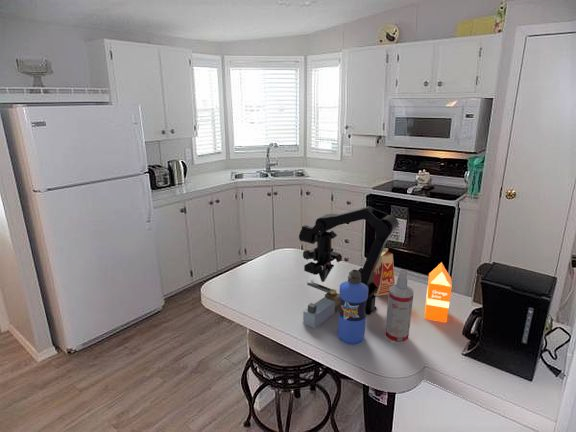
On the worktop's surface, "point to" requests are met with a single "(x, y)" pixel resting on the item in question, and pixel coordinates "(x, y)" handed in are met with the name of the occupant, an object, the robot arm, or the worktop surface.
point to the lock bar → (322, 288)
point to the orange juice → (438, 294)
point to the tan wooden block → (334, 298)
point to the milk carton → (384, 273)
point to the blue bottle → (352, 309)
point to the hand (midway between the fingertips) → (323, 281)
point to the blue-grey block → (318, 312)
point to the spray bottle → (399, 310)
